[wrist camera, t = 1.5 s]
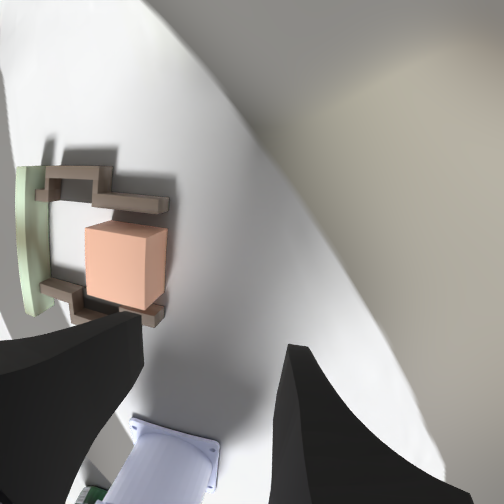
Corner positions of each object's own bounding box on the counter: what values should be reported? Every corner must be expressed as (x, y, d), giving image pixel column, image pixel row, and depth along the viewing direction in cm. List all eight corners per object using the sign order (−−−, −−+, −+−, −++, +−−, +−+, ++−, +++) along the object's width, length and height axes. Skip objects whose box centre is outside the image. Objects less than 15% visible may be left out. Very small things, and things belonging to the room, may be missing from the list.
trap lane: (164, 338, 19) (148, 357, 17) (45, 301, 20) (25, 313, 18) (172, 169, 16) (152, 169, 14) (40, 165, 17) (16, 166, 15)
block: (165, 291, 18) (144, 310, 15) (112, 278, 19) (87, 294, 16) (168, 228, 17) (145, 238, 14) (112, 219, 18) (85, 227, 15)
